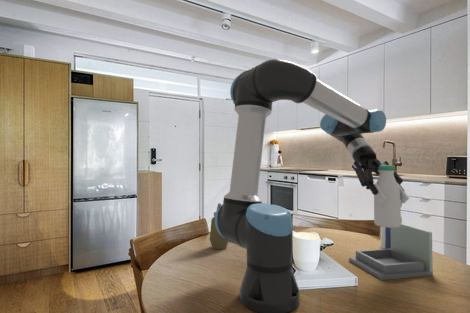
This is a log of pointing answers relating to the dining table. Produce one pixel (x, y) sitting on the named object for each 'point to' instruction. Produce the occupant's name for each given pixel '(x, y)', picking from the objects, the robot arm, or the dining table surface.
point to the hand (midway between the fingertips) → (394, 201)
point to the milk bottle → (388, 199)
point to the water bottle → (386, 236)
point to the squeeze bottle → (216, 235)
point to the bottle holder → (399, 255)
